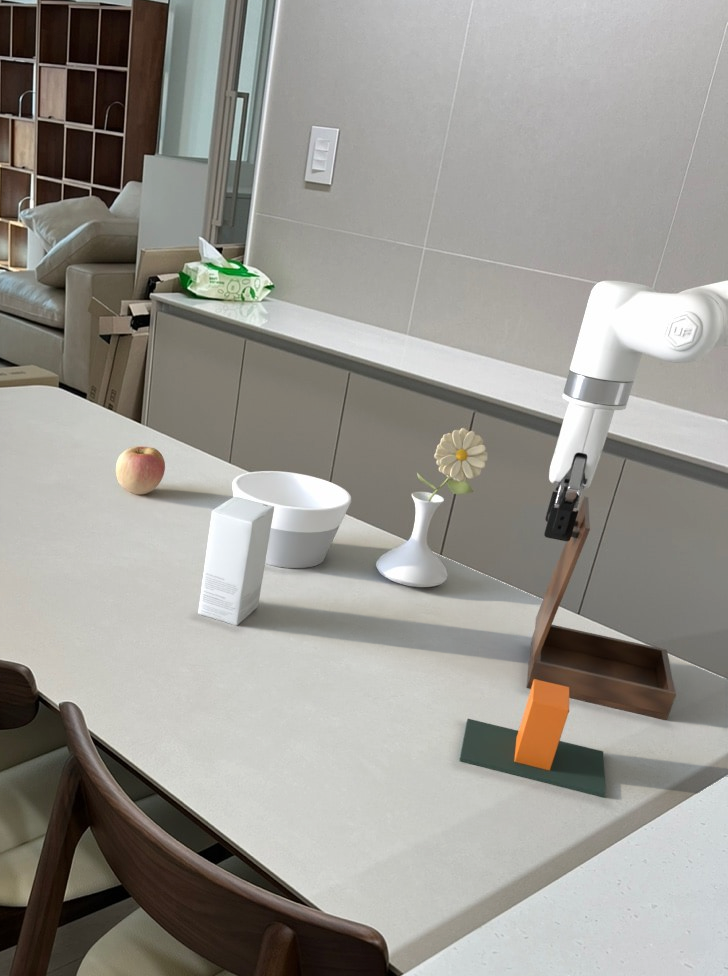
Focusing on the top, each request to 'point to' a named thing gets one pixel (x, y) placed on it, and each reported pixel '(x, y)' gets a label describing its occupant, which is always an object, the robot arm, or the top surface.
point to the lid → (561, 577)
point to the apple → (140, 469)
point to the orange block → (542, 724)
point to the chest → (605, 671)
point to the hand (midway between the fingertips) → (557, 529)
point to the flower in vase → (415, 558)
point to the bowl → (296, 514)
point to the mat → (567, 770)
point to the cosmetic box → (235, 559)
